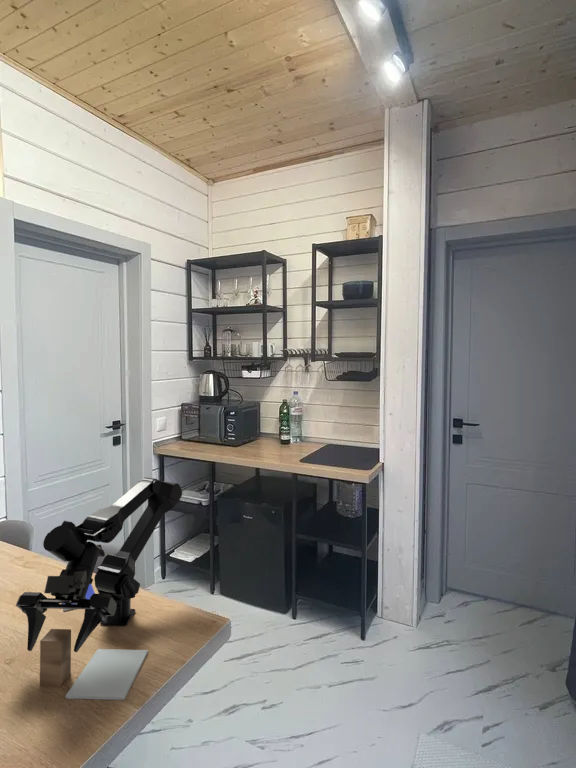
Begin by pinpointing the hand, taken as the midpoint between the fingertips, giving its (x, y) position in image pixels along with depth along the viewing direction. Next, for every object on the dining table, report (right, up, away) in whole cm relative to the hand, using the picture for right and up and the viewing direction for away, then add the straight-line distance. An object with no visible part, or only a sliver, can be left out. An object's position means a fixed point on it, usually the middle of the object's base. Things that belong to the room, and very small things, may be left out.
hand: (52, 651), depth 86 cm
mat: (+10, -7, +4) cm, 12 cm away
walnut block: (0, -7, +2) cm, 7 cm away
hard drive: (-11, -6, +33) cm, 36 cm away
